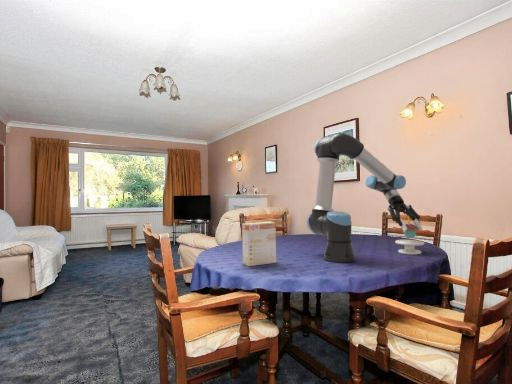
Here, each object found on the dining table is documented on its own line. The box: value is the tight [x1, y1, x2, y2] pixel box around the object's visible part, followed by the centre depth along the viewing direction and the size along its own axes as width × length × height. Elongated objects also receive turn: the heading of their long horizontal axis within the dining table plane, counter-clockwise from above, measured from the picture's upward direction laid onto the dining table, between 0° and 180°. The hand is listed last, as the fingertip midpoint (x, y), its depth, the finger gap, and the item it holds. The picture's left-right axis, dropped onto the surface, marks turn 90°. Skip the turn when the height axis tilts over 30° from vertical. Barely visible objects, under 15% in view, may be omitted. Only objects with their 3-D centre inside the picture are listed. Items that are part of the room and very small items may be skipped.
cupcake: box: [400, 215, 419, 239], centre depth 164 cm, size 9×8×12 cm
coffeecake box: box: [241, 220, 277, 267], centre depth 144 cm, size 15×7×20 cm, turn 115°
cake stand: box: [395, 239, 425, 256], centre depth 164 cm, size 14×14×6 cm
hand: (413, 229), depth 160 cm, fingers closed on cupcake, 8 cm apart
